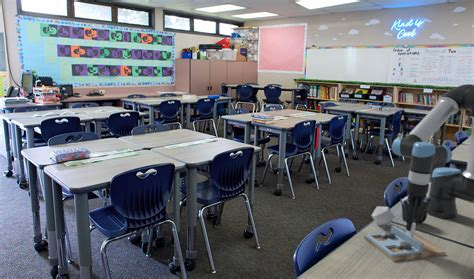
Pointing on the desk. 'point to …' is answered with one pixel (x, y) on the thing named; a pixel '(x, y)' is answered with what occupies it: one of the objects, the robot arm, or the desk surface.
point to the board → (425, 252)
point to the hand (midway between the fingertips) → (409, 237)
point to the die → (382, 216)
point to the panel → (397, 242)
